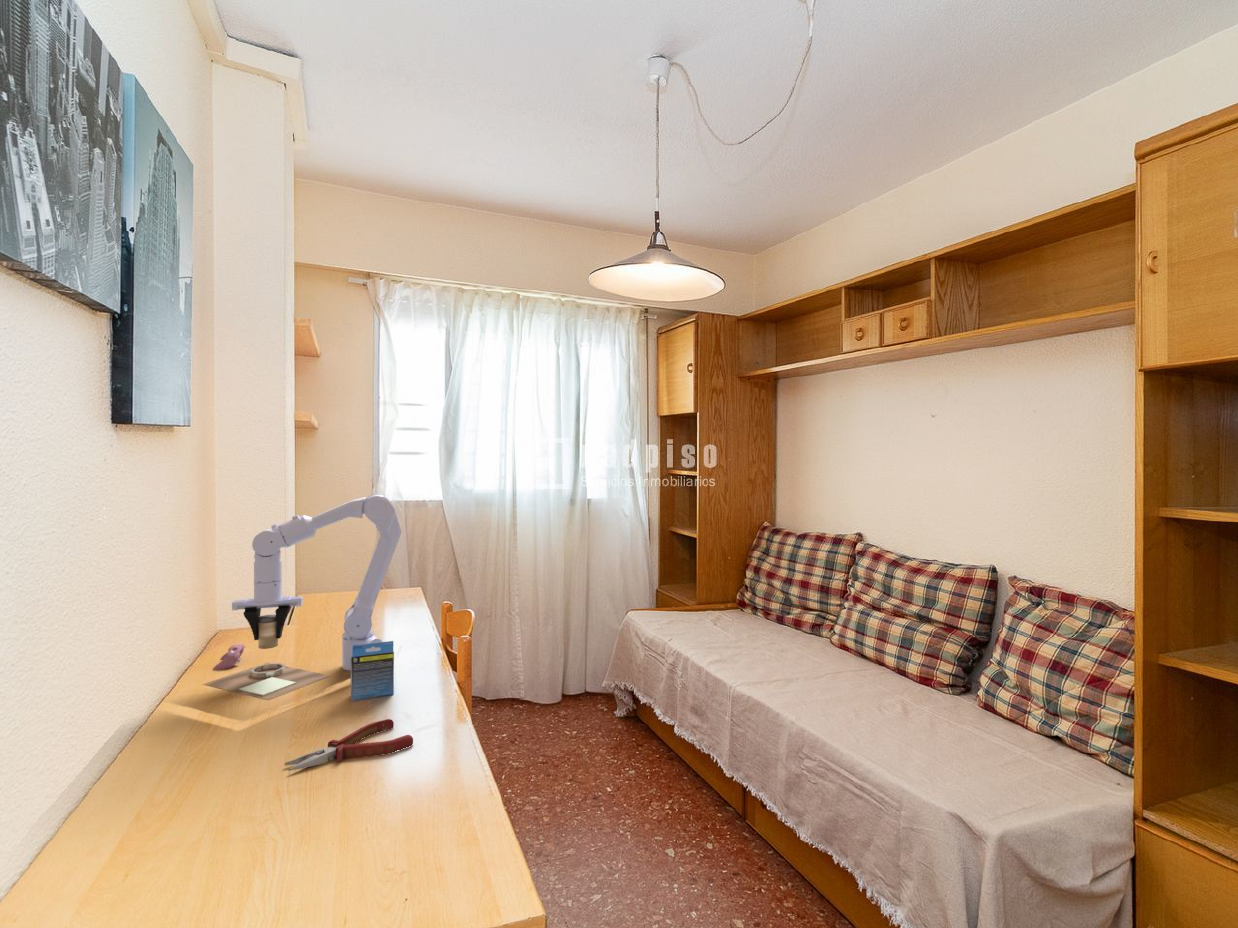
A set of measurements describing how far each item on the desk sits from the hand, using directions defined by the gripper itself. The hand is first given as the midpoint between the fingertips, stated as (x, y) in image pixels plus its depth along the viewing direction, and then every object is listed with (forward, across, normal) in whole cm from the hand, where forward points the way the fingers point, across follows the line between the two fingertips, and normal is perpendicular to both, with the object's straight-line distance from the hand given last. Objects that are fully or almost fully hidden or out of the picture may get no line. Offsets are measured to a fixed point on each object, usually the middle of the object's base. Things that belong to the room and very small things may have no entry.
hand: (268, 638), depth 144 cm
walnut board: (+10, -1, +3) cm, 11 cm away
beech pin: (+2, 0, 0) cm, 2 cm away
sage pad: (+9, -2, +8) cm, 12 cm away
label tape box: (+11, -24, +15) cm, 31 cm away
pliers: (+11, -23, +40) cm, 48 cm away
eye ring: (+9, 0, -2) cm, 9 cm away
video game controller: (+11, +12, -13) cm, 21 cm away
